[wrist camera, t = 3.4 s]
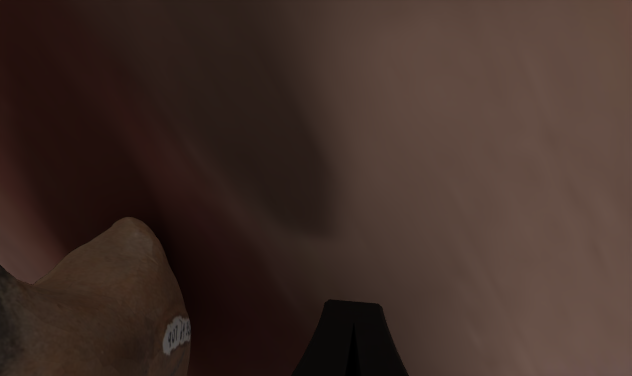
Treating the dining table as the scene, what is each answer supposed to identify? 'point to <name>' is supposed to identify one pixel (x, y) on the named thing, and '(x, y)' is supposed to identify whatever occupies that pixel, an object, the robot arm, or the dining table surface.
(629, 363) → the dining table surface
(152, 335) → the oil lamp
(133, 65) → the dining table surface
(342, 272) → the dining table surface
